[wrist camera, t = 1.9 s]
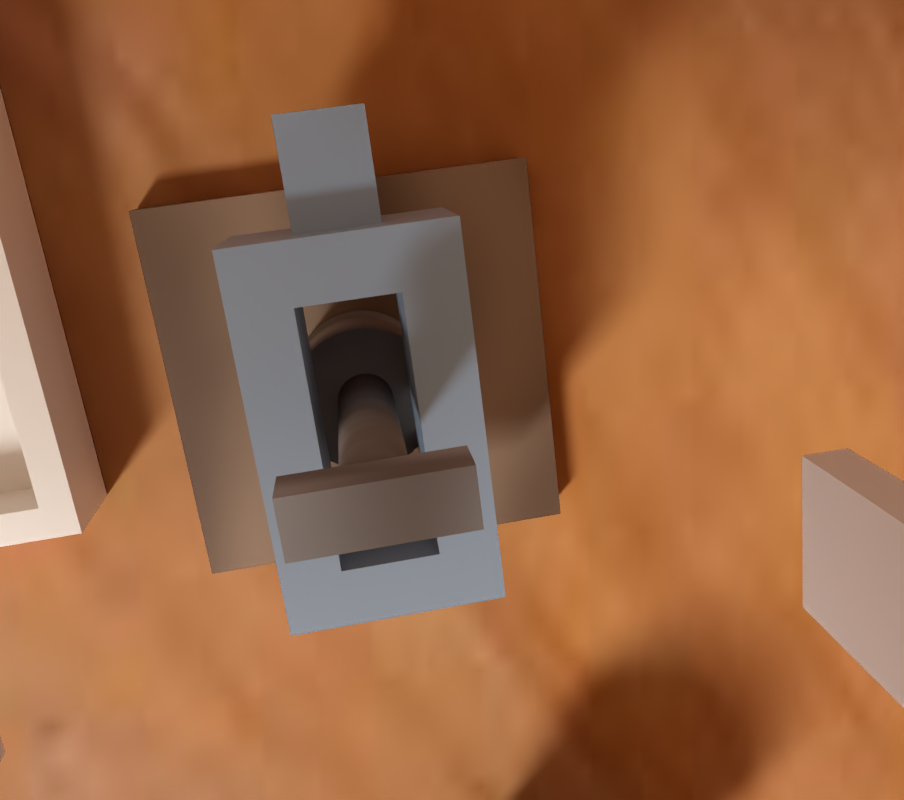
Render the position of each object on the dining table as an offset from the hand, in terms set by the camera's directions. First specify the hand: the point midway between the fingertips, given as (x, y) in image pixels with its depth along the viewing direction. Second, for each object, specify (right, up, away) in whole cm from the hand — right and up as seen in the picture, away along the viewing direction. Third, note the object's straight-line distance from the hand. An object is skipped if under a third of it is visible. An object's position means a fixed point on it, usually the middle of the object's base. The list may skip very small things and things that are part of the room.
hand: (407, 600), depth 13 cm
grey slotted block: (-2, +4, +11) cm, 12 cm away
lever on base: (-2, +4, +15) cm, 16 cm away
